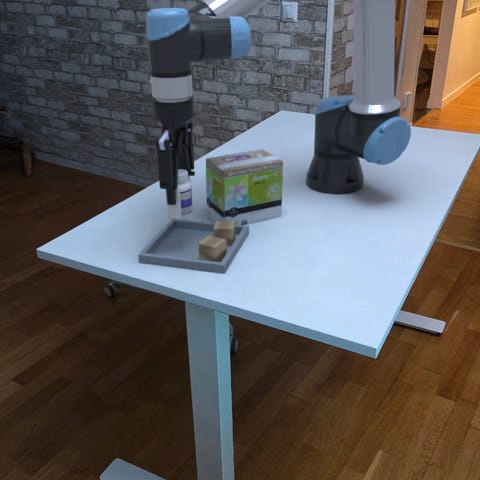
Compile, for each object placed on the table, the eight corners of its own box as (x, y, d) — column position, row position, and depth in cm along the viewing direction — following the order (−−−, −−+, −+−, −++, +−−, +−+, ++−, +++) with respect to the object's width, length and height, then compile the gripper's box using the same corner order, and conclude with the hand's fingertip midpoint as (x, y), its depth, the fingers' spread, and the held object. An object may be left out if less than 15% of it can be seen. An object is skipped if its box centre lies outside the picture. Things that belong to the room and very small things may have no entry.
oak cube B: (226, 257, 115) (226, 239, 113) (215, 265, 111) (215, 247, 110) (210, 252, 116) (209, 235, 115) (199, 260, 113) (198, 243, 112)
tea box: (225, 233, 126) (223, 170, 119) (206, 217, 134) (203, 157, 127) (283, 219, 132) (283, 158, 125) (261, 204, 140) (261, 146, 133)
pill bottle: (167, 208, 118) (165, 168, 114) (193, 207, 118) (191, 167, 114) (167, 219, 113) (163, 177, 109) (193, 217, 114) (191, 176, 110)
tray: (249, 236, 124) (248, 226, 123) (224, 276, 109) (224, 265, 108) (172, 227, 129) (172, 218, 128) (139, 265, 113) (138, 254, 112)
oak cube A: (235, 237, 122) (234, 220, 121) (233, 246, 119) (232, 229, 117) (216, 237, 123) (216, 220, 121) (214, 245, 119) (213, 228, 117)
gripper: (172, 87, 114) (179, 193, 125) (132, 108, 98) (144, 228, 109) (207, 88, 112) (211, 197, 123) (172, 110, 97) (180, 232, 107)
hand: (180, 211), depth 116 cm, fingers closed on pill bottle, 5 cm apart
